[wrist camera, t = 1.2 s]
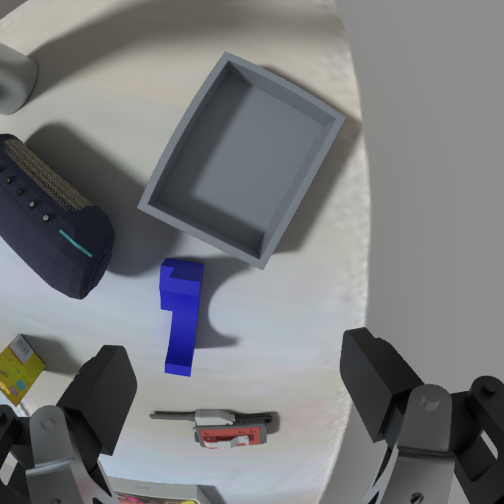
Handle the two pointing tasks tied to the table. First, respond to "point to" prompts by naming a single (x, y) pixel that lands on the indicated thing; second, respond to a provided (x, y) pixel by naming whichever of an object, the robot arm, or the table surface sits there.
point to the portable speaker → (51, 222)
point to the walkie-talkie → (224, 428)
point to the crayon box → (18, 369)
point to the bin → (241, 160)
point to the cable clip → (181, 311)
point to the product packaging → (156, 492)
